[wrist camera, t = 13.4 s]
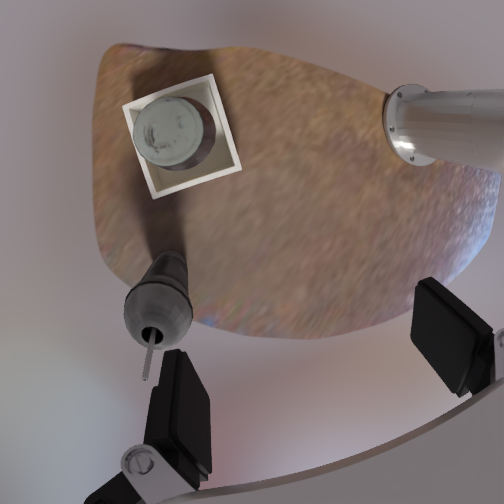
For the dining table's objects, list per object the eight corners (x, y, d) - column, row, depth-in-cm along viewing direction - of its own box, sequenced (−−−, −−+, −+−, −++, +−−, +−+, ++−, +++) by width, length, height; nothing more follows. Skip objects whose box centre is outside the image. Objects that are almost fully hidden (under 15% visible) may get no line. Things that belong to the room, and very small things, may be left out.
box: (212, 82, 31) (212, 73, 26) (238, 165, 35) (242, 169, 31) (133, 110, 31) (122, 106, 26) (160, 191, 35) (153, 199, 31)
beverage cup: (200, 244, 38) (193, 342, 20) (193, 292, 41) (186, 403, 22) (147, 236, 37) (97, 326, 19) (143, 285, 39) (105, 390, 21)
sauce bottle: (154, 153, 33) (91, 170, 14) (170, 104, 31) (123, 66, 12) (205, 167, 34) (197, 200, 16) (222, 119, 32) (234, 93, 14)
